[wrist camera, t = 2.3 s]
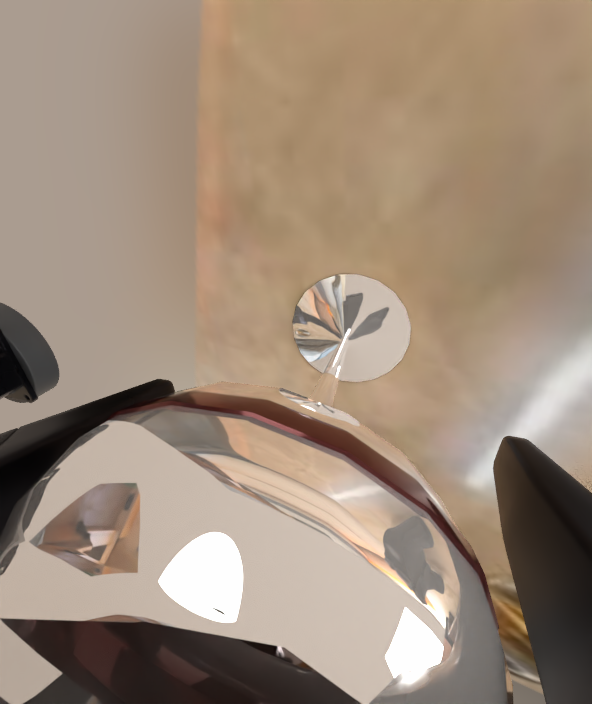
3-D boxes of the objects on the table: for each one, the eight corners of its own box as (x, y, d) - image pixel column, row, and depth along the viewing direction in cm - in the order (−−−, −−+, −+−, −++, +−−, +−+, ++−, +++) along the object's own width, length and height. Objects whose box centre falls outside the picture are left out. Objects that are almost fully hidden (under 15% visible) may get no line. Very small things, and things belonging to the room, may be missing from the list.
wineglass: (255, 355, 15) (-51, 703, 5) (307, 218, 11) (-529, 496, 1) (380, 421, 14) (321, 953, 4) (476, 300, 11) (1449, 1899, 1)
